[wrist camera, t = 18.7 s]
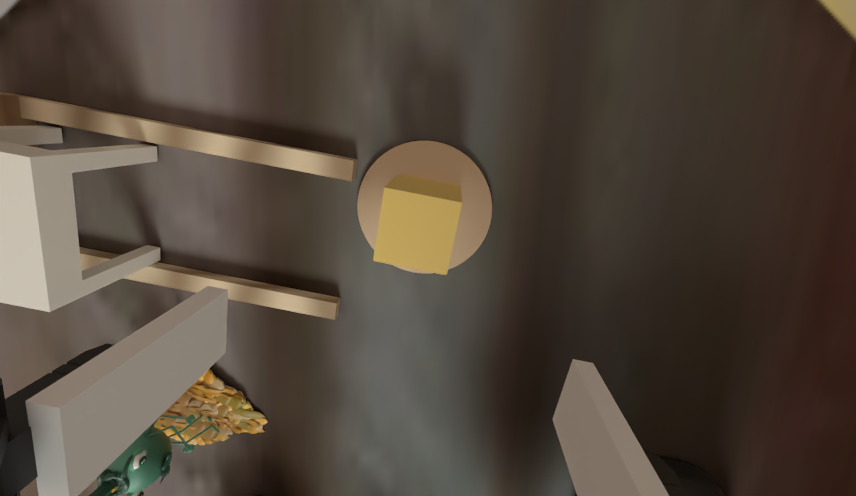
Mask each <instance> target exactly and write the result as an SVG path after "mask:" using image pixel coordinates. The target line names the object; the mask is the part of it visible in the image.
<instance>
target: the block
mask: <svg viewBox="0 0 856 496" xmlns="http://www.w3.org/2000/svg"><path fill="white" fill-rule="evenodd" d="M461 206H462V193H461V186H460V185H455V184H450V183H445V182H440V181H435V180H430V179H425V178H420V177H414V176H409V175H404V174H398V175H397V176H396V177H395V178H394V179H393V180H392V181H391V182H389V183H388V184H387V185H386V186H385V187H384V192H383V199H382V205H381V212H380V218H379V225H378V232H377V238H376V245H375V251H374V258H373V261H377V262H382V263H387V264H392V265H397V266H402V267H407V268H412V269H417V270H422V271H427V272H432V273H437V274H442V275H447V271H448V266H449V262H450V257H451V253H452V248H453V243H454V239H455V234H456V229H457V225H458V220H459V215H460V211H461Z"/></svg>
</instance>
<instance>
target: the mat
mask: <svg viewBox="0 0 856 496" xmlns="http://www.w3.org/2000/svg"><path fill="white" fill-rule="evenodd" d="M398 174H404V175H409V176H414V177H420V178H425V179H430V180H435V181H440V182H445V183H450V184H455V185H460V186H461V193H462V206H461V211H460V215H459V220H458V225H457V229H456V234H455V239H454V243H453V248H452V253H451V257H450V262H449V266H448V270H449V269H451V268H454V267H456V266H458V265H460V264H461V263H463V262H464V261H466V260H467V259H468V258H469V257H471V256H472V255H473V254H474V253H475V252H476V250H477V249H478V248H479V247H480V245H481V244H482V242H483V241H484V239H485V237H486V235H487V232H488V230H489V226H490V223H491V217H492V200H491V194H490V190H489V187H488V184H487V182H486V179H485V178H484V176H483V174H482V172H481V171H480V169H479V168H478V167H477V165H476V164H475V163H474V162H473V161H472V160H471V159H470V158H469V157H468V156H466V155H465V154H464V153H463V152H461V151H459V150H458V149H456V148H454V147H452V146H449V145H447V144H444V143H440V142H436V141H413V142H408V143H404V144H401V145H399V146H397V147H394V148H392V149H390V150H389V151H387V152H386V153H384V154H383V155H382V156H380V157H379V158H378V159H377V160H376V161H375V162H374V163H373V164H372V166H371V167H370V168H369V170H368V171H367V173H366V175H365V177H364V179H363V181H362V183H361V186H360V189H359V195H358V204H357V208H358V218H359V222H360V226H361V229H362V231H363V234H364V236H365V238H366V239H367V241H368V243H369V244H370V246H371V247H372V248H373V249H374V250H375V245H376V238H377V232H378V225H379V218H380V212H381V205H382V199H383V192H384V187H385V186H386V185H387V184H388V183H389V182H391V181H392V180H393V179H394V178H395V177H396V176H397V175H398ZM394 266H396V267H398V268H400V269H403V270H406V271H410V272H414V273H432V272H427V271H422V270H417V269H412V268H407V267H402V266H397V265H394Z"/></svg>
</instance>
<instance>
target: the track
mask: <svg viewBox="0 0 856 496" xmlns="http://www.w3.org/2000/svg"><path fill="white" fill-rule="evenodd" d="M37 121H41V122H47V123H52V124H57V125H62V126H67V127H73V128H78V129H83V130H88V131H93V132H99V133H104V134H109V135H114V136H119V137H125V138H130V139H135V140H140V141H145V142H151V143H156V144H161V145H166V146H171V147H177V148H182V149H187V150H192V151H197V152H203V153H208V154H213V155H218V156H223V157H229V158H234V159H239V160H244V161H249V162H255V163H260V164H265V165H270V166H276V167H281V168H286V169H291V170H296V171H302V172H307V173H312V174H317V175H322V176H328V177H333V178H338V179H343V180H348V181H353V180H354V179H355V176H356V168H357V160H358V159H353V158H348V157H343V156H338V155H332V154H327V153H322V152H317V151H312V150H306V149H301V148H296V147H291V146H286V145H280V144H275V143H270V142H265V141H259V140H254V139H249V138H244V137H239V136H233V135H228V134H223V133H218V132H212V131H207V130H202V129H197V128H192V127H186V126H181V125H176V124H171V123H165V122H160V121H155V120H150V119H145V118H139V117H134V116H129V115H124V114H119V113H113V112H108V111H103V110H98V109H92V108H87V107H82V106H77V105H72V104H66V103H61V102H56V101H51V100H45V99H40V98H35V97H30V96H25V95H19V94H13V93H0V126H37ZM26 146H31V147H37V148H40V144H38V145H26ZM79 250H80V260H81V270H86V269H88V268H91V267H93V266H96V265H98V264H101V263H103V262H106V261H108V260H111V259H113V258H116V257H118V256H121V255H119V254H114V253H109V252H103V251H98V250H93V249H88V248H83V247H79ZM124 279H129V280H134V281H139V282H145V283H150V284H155V285H160V286H165V287H170V288H175V289H180V290H185V291H191V292H196V293H197V292H199V291H201V290H202V289H204V288H205V287H207V286H212V287H217V288H222V289H227V290H228V299H231V300H237V301H242V302H247V303H252V304H257V305H262V306H267V307H272V308H278V309H283V310H288V311H293V312H298V313H303V314H308V315H313V316H318V317H324V318H329V319H334V320H335V319H336V317H337V315H338V314H339V306H340V298H339V297H334V296H329V295H324V294H319V293H314V292H309V291H303V290H298V289H293V288H288V287H283V286H278V285H273V284H268V283H262V282H257V281H252V280H247V279H242V278H237V277H232V276H226V275H221V274H216V273H211V272H206V271H201V270H196V269H191V268H185V267H180V266H175V265H170V264H165V263H160V262H156V263H153V264H151V265H149V266H147V267H145V268H143V269H141V270H138V271H136V272H134V273H132V274H130V275H128V276H126V277H124Z"/></svg>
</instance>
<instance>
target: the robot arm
mask: <svg viewBox="0 0 856 496" xmlns="http://www.w3.org/2000/svg"><path fill="white" fill-rule="evenodd" d="M227 300H228V290H227V289H222V288H217V287H212V286H207V287H205V288H204V289H202V290H201V291H199V292H197V293H196V294H194V295H193V296H191V297H189V298H188V299H186V300H185V301H183V302H182V303H180V304H178V305H177V306H175V307H174V308H172V309H170V310H169V311H167V312H166V313H164V314H163V315H161V316H159V317H158V318H156V319H155V320H153V321H151V322H150V323H148V324H147V325H145V326H144V327H142V328H140V329H139V330H137V331H136V332H134V333H132V334H131V335H129V336H128V337H126V338H124V339H123V340H121V341H120V342H118V343H117V344H115V345H111V344H105V345H102V346H99V347H96V348H93V349H91V350H88V351H85V352H83V353H82V354H80V355H78V356H77V357H75V358H73V359H72V360H70V361H68V362H67V364H66V365H65V364H63V365H62V366H60V367H58V368H57V369H55V370H53V372H52V373H48V374H47V375H45V376H43V377H42V378H40V379H38V380H37V381H35V382H33V383H32V384H30V385H28V386H27V387H25V388H23V389H22V390H20V391H18V392H17V393H15V394H13V395H12V396H10V397H8V398H7V399H5V397H4V391H3V385H2V379H1V378H0V496H20V491H21V490H22V489H23V488H24V487H26V486H27V485H28V484H29V483H30V482H32V481H33V480H34V479H35V478H36V480H37V487H38V494H39V496H78V495H79V494H80V493H81V492H82V491H83V490H84V489H86V488H87V487H88V486H89V485H90V484H91V483H92V482H93V481H94V480H95V479H96V478H97V477H98V476H99V475H100V474H101V473H102V472H103V471H104V470H105V469H106V468H107V467H108V466H109V465H110V464H111V463H112V462H113V461H114V460H115V459H117V458H118V457H119V456H120V455H121V454H122V453H123V452H124V451H125V450H126V449H127V448H128V447H129V446H130V445H131V444H132V443H133V442H134V441H135V440H136V439H137V438H138V437H139V436H140V435H141V434H142V433H143V432H144V431H145V430H146V429H148V428H149V427H150V426H151V425H152V424H153V423H154V422H155V421H156V420H157V419H158V418H159V417H160V416H161V415H162V414H163V413H164V412H165V411H166V410H167V409H168V408H169V407H170V406H171V405H172V404H173V403H174V402H175V401H176V400H177V399H179V398H180V397H181V396H182V395H183V394H184V393H185V392H186V391H187V390H188V389H189V388H190V387H191V386H192V385H193V384H194V383H195V382H196V381H197V380H198V379H199V378H200V377H201V376H202V375H203V374H204V373H205V372H206V371H207V370H208V369H210V368H211V367H212V366H213V365H214V364H215V363H216V362H217V361H218V360H219V359H220V358H221V357H222V356H223V355H224V354H225V353H226V328H227ZM552 420H553V423H554V426H555V429H556V432H557V435H558V438H559V441H560V444H561V448H562V451H563V454H564V457H565V460H566V463H567V466H568V469H569V472H570V475H571V478H572V482H573V485H574V488H575V491H576V494H577V496H726V495H725V494H724V493H723V491H722V490H721V488H720V487H719V486H718V484H717V483H716V482H715V481H714V480H713V478H711V477H710V476H709V475H708V474H707V473H705V472H704V471H702V470H701V469H699V468H697V467H695V466H693V465H691V464H688V463H686V462H682V461H679V460H675V459H669V458H660V457H659V456H658V455H656V454H651V453H646V452H644V451H643V449H642V447H641V446H640V444H639V442H638V440H637V439H636V437H635V435H634V433H633V432H632V430H631V428H630V426H629V425H628V423H627V421H626V420H625V418H624V416H623V414H622V413H621V411H620V409H619V407H618V406H617V404H616V402H615V400H614V399H613V397H612V395H611V393H610V392H609V390H608V388H607V386H606V385H605V383H604V381H603V379H602V378H601V376H600V374H599V373H598V371H597V369H596V367H595V366H594V364H593V363H590V362H585V361H580V360H575V359H573V360H572V362H571V365H570V368H569V371H568V374H567V377H566V380H565V383H564V386H563V389H562V392H561V395H560V398H559V401H558V404H557V407H556V410H555V413H554V416H553V419H552Z"/></svg>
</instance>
